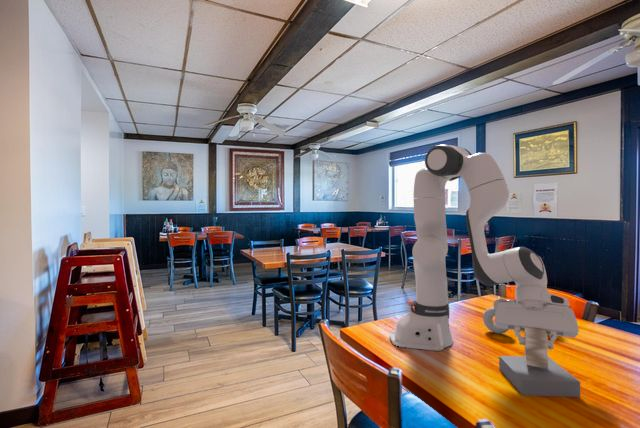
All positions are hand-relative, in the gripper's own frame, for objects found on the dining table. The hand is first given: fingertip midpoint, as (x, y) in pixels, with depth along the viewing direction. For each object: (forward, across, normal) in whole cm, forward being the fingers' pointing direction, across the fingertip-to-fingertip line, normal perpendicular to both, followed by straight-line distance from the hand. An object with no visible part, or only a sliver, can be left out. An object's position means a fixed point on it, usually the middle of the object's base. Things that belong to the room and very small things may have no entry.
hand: (535, 346), depth 92 cm
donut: (-18, -10, +33) cm, 38 cm away
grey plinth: (+7, 0, +8) cm, 10 cm away
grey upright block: (+3, 0, +4) cm, 5 cm away
